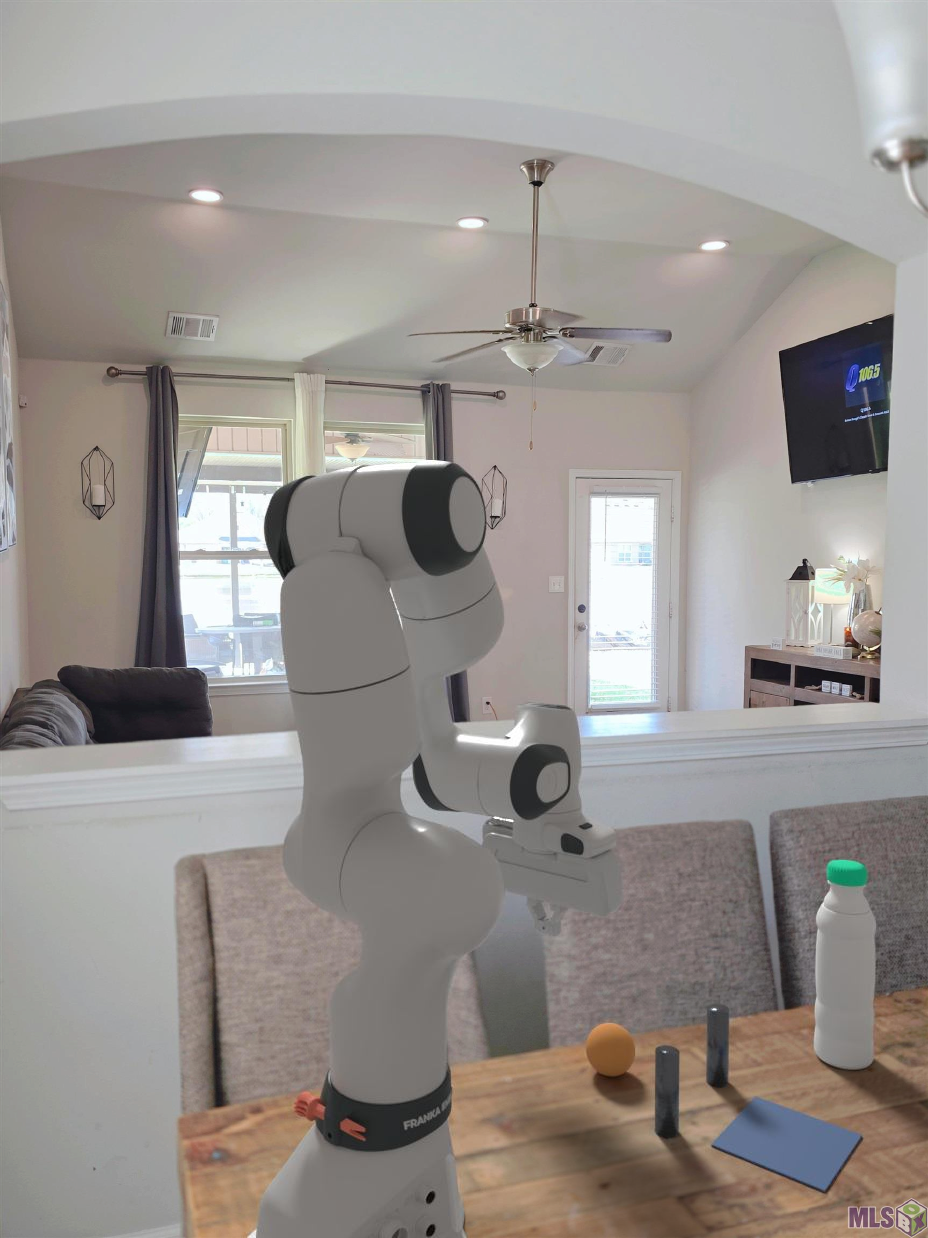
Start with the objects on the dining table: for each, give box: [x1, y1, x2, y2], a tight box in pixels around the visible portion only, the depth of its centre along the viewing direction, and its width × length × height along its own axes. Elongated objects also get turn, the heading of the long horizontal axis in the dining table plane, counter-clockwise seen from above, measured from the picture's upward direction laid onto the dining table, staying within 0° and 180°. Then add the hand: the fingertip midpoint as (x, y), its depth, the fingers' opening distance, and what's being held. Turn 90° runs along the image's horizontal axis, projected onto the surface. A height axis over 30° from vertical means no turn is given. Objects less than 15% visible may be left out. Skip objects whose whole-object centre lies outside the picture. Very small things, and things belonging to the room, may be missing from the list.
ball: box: [585, 1022, 636, 1077], centre depth 116 cm, size 6×6×6 cm
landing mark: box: [711, 1096, 863, 1193], centre depth 102 cm, size 12×12×1 cm
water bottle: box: [813, 859, 877, 1071], centre depth 119 cm, size 7×7×25 cm
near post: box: [654, 1044, 681, 1139], centre depth 104 cm, size 3×3×9 cm
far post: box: [705, 1003, 730, 1088], centre depth 114 cm, size 3×3×9 cm
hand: (547, 933), depth 121 cm, fingers closed
